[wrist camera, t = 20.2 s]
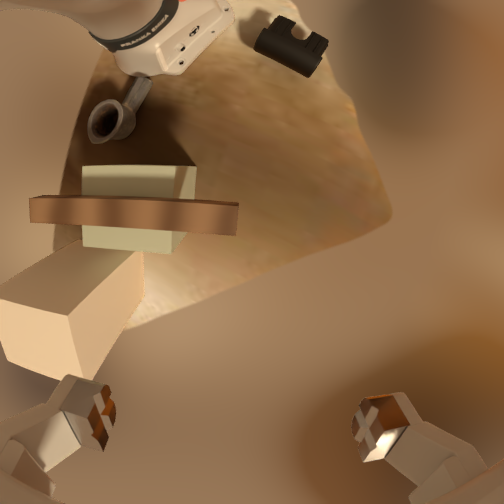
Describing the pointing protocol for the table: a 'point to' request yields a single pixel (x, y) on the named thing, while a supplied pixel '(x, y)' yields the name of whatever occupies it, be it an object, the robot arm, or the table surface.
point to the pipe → (117, 114)
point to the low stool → (141, 185)
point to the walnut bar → (137, 213)
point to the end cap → (291, 47)
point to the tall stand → (70, 309)
